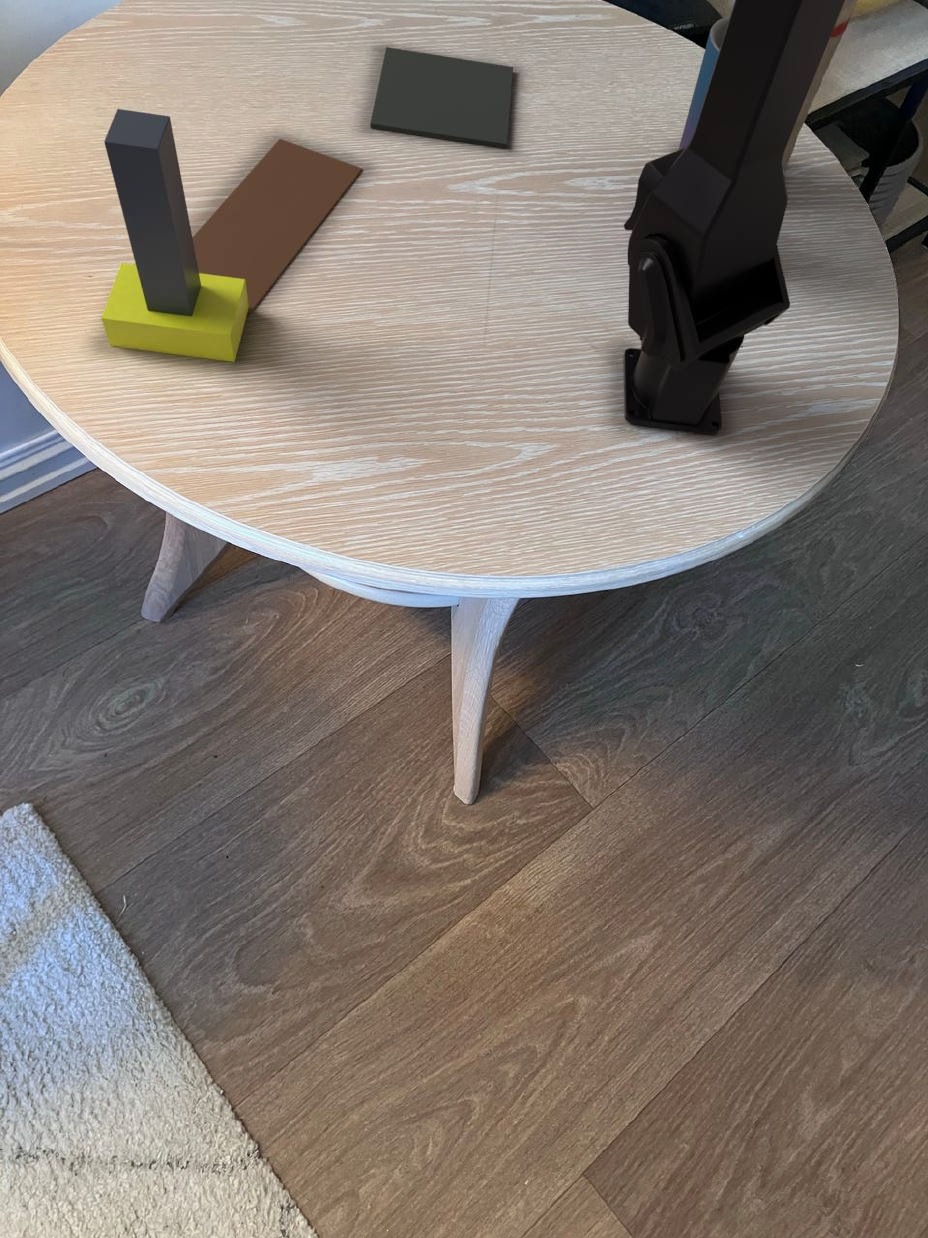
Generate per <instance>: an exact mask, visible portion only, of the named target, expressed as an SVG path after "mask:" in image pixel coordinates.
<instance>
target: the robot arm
mask: <svg viewBox="0 0 928 1238" xmlns="http://www.w3.org/2000/svg"><path fill="white" fill-rule="evenodd" d="M844 2H845V0H734V3H733V6H732V10H731V13H730V15H729V16H730V19H729V22H728V25H727V28H726V31H725V35H724V38H723V41H722V44H721V47H720V51H719V54H718V57H717V60H716V63H715V67H714V70H713V73H712V76H711V79H710V83H709V86H708V89H707V92H706V96H705V99H704V102H703V105H702V108H701V112H700V115H699V118H698V121H697V124H696V128H695V131H694V134H693V136H692V138H691V140H690V142H689V144H688V146H687V147H685V148H683V149H680V150H679V149H677V150H675V151H673V152H670V153H668V154H665V155H663V156H660V157H658V158H655V159H652V160H650V161H648V162H646V163H645V164H644V166H643V169H642V171H641V173H640V175H639V178H638V180H637V181H638V183H637V190H636V197H635V202H634V203H635V204H634V205H633V209H632V211H631V213H630V216H629V217H628V219H627V220H626V221H625V223H624V224H623V228H624V230H625V231H631V233H630V236H629V238H628V244H627V251H626V252H627V265H628V270H629V271H628V306H627V307H628V309H627V310H628V312H627V316H628V317H627V324H628V327H629V328H630V329H631V330H632V331H633V332H634V333H635V334H636V335H637V336H638V337H639V341H640V348H632V347H631V348H630V347H628V348H626V349H625V350H624V352H623V357H622V358H623V360H622V361H623V362H622V363H623V365H622V366H623V404H624V405H623V407H624V408H623V411H624V412H623V413H624V420H626V422H628V423H630V424H637V425H643V426H650V427H657V428H667V429H672V430H680V431H688V432H693V433H694V432H696V433H701V434H710V435H717V434H720V432H721V430H722V428H723V421H722V410H721V409H722V407H721V398H720V389H721V387H722V385H723V383H724V381H725V379H726V377H727V376H728V373H729V371H730V369H731V367H732V365H733V363H734V361H735V359H736V357H737V355H738V353H739V351H740V349H741V347H742V344H743V343H744V340H745V336H747V334H749V333H752V332H754V331H756V330H757V329H759V328H761V327H763V326H768V325H770V324H772V323H774V321H776V320H777V319H778V318H779V317H780V316H782V315H783V314H784V313H785V312H786V311H788V310H789V309H790V306H791V301H790V297H789V292H788V288H787V282H786V278H785V274H784V269H783V265H782V261H781V256H780V252H779V251H780V250H779V247H778V241H779V237H780V233H781V230H782V225H783V222H784V217H785V214H786V210H787V206H788V191H787V185H786V179H785V170H784V171H783V165H782V158H783V154H784V151H785V148H786V145H787V143H788V141H789V138H790V136H791V133H792V131H793V128H794V126H795V123H796V121H797V118H798V116H799V113H800V111H801V108H802V106H803V103H804V101H805V98H806V96H807V93H808V91H809V89H810V86H811V84H812V81H813V79H814V76H815V74H816V71H817V69H818V66H819V64H820V61H821V59H822V56H823V54H824V51H825V49H826V46H827V44H828V42H829V39H830V37H831V34H832V32H833V29H834V27H835V24H836V22H837V19H838V17H839V14H840V12H841V9H842V7H843V4H844Z"/></svg>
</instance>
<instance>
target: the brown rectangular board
mask: <svg viewBox="0 0 928 1238" xmlns="http://www.w3.org/2000/svg"><path fill="white" fill-rule="evenodd" d="M362 171H363V168H362V167H361V166H357V165H354V164H351V163H348V162H346V161H344V160H341V159H337V158H335V157H332V156H329V155H326V154H323V153H320V152H318V151H316V150H312V149H310V148H307V147H304V146H301V145H298V144H296V143H294V142H293V143H292V142H291V141H287V140H285V139H282V138H279V139H278V140H277V141H276V142H275V144H274V145H273V146H272V147H271V148H270V149H269V150H268V151H267V152H266V153H265V154H264V156H263V157H262V158H261V159H260V161H259V162H258V163H257V164H256V165H255V166H254V167H253V169H251V170H250V172H249V173H248V174H247V175H246V176H244V177H245V178H243V179H242V181H241V182H240V183H239V184H238V185H237V186H236V188H235V189H234V190H233V191H232V192H231V193H230V194H229V195H228V197H227V198H226V199H225V200H224V201H223V202H222V203H221V204H220V206H219V207H218V208H217V209H216V210H215V211H214V212H213V213H212V215H211V216H210V217H209V218H208V220H206V221H205V223H204V224H203V225H202V226H201V227H200V228H199V229H198V231H196V233H195V234H194V235H192V238H193V244H194V249H195V254H196V260H197V265H198V271H199V273H202V274H209V275H216V276H224V277H231V278H239V279H245V282H246V289H247V297H248V304H249V308H248V312H247V316H248V317H249V316H251V314H252V313H253V311H254V310H255V309H256V308H257V306H259V304H260V302H261V301H262V300H263V299H264V297H265V296H266V295H267V293H268V292H269V291H270V290H271V289H272V287H273V286H274V284H275V283H276V282H277V281H278V279H279V278H280V276H282V274H283V273H284V271H286V269H287V267H288V266H289V265H290V264H291V263H292V261H293V260H294V259H295V257H296V256H297V255H298V254H299V252H300V251H301V249H303V247H304V246H305V244H306V243H308V241H309V239H310V238H311V237H312V235H313V234H314V233H315V232H316V231H317V229H318V228H319V226H320V225H321V224H322V222H323V221H324V220H325V219H326V218H327V216H328V215H329V214H330V213H331V211H332V210H333V208H334V207H335V206H336V205H337V204H338V202H339V201H340V199H341V198H342V197H343V196H344V194H345V193H346V192H347V191H348V189H349V188H350V187H351V185H352V184H353V182H355V180H356V179H357V177H359V175H360V174H361V173H362Z"/></svg>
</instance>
